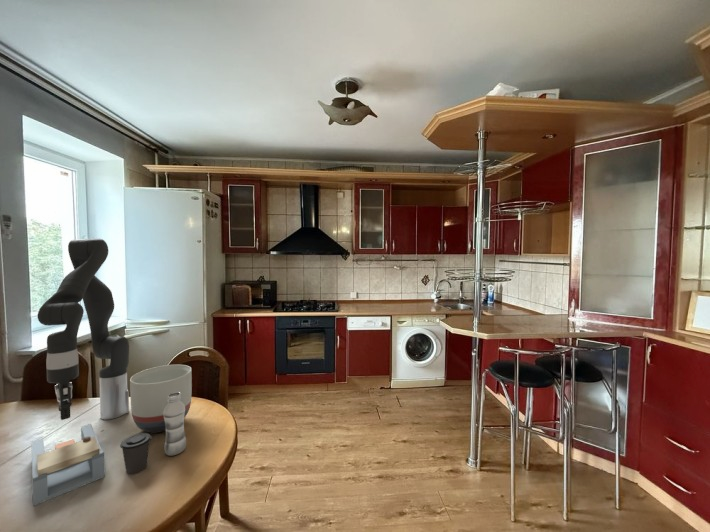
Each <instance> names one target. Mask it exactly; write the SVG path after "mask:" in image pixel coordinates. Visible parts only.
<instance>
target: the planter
mask: <svg viewBox="0 0 710 532" xmlns="http://www.w3.org/2000/svg"><path fill="white" fill-rule="evenodd" d="M192 376H193V375H192V367H191V366H189V365H186V364H166V365H160V366H155V367H151V368H147V369H143V370H142V371H139V372H137V373H135V374H133V375H132V376H131V377H130V379H129V392H130V394H129V395H130V396H129V398H130V408H131V409H130V410H131V415H132V420H133V422H134V424H135V425H136V427H137V428H139V429H140V430H142V431H144V432H145V433H154V434H155V433H156V434H157V433H162V432H163V433H164V432H166V428H165V420H164V416H163V412H164V409H165V407H166V406H167V404H168V403H169V402H168V395H169V394H172V393H176V392H179V393H180V397H181V399H180V401H181V402H182V403H183V404H184V406H185V415H184V419H185V418H186V416H187V415H188V413H189V411H190V408H191V403H192V387H193V383H192V379H193V377H192Z"/></svg>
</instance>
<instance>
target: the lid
mask: <svg viewBox="0 0 710 532" xmlns="http://www.w3.org/2000/svg"><path fill="white" fill-rule="evenodd" d="M97 454H99V447H98V444H97V442H96V439H95V437H90V436H88V437H85V438H83V440H82V441H81V440H80V441H75V443H73V444H70V445H67V446H64V447H61V448H58V449H55V448H54V449H52V450H50V451H49V450H48V451H46V452H45V453H43V454H40V455H37V470H38V476H39V475H42V474H45V473H47V474H49V473H52V472H55V471H58V470H60V469H63V468H66V467H69V466H71V465H74V464H77V463H79V462H82V461H85V460H88V459H90V458H92V456H94V455H97Z"/></svg>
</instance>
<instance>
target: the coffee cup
mask: <svg viewBox="0 0 710 532" xmlns="http://www.w3.org/2000/svg"><path fill="white" fill-rule="evenodd" d="M151 440H152V435H151V434H150V433H149V432H141V433H136V434H132V435H130V436H128V437H127V438H125V439H123V440H122V442H121V443H120V445H119V447H120V448H121V451H122V455H123V461H124V465H125V466H124V467H125V473H126V474H127V475H130V476H131V475H133V476H134V475H136V474H139V473H141V472H143V471H144V470H145V469H147V467H148V459H149V450H150V441H151Z"/></svg>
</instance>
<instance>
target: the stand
mask: <svg viewBox="0 0 710 532" xmlns="http://www.w3.org/2000/svg"><path fill="white" fill-rule="evenodd" d="M92 425H93V424H92V423H89V424H86V425H82V426H80V433H81V434H80V437H81V438H80V439H81V440H80V441H82V440H83V438H85V437H88V436H90V437H95V439H96V442H97V444H98V447H99V454H97V455H94V456H92V458H90V459H88V460H85V461H82V462H79V463H77V464H74V465H71V466H69V467H66V468H63V469H60V470H58V471H55V472H52V473H49V474H47V473H45V474H42V475H39V476H38V470H37V455H40V454H43V453H46V452H45V442H44V438H39V439H37V440H32V441H31V442H30V444H31V475H32V477H31V478H32V480H31V481H32V499H33V501H32V502H33V503H32V504H33V506H36V505H39V504H41V503H44V502H47V501H48V500H52V499H54V498H55V497H58V496H60V495H64V494H65V493H68V492H70V491H73V490H75V489H77V488H80V487H82V486H85V485H87V484H90V483H92V482H95V481H98V480H101V479H102V478H105V476H106V474H105V473H106V471H105V470H106V469H105V452H104V451H103V450H102V447H101V445H100V442H99V440H98V437H97V435H96V432H95V430H94V426H92Z"/></svg>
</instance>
